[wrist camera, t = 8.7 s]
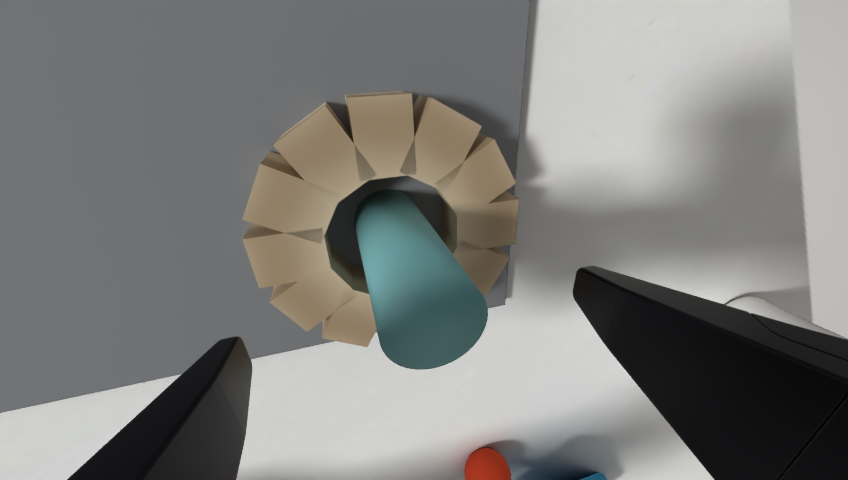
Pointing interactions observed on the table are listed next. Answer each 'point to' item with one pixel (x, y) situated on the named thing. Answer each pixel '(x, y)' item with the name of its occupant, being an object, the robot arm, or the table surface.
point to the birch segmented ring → (348, 170)
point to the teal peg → (415, 285)
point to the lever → (496, 467)
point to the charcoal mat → (196, 164)
